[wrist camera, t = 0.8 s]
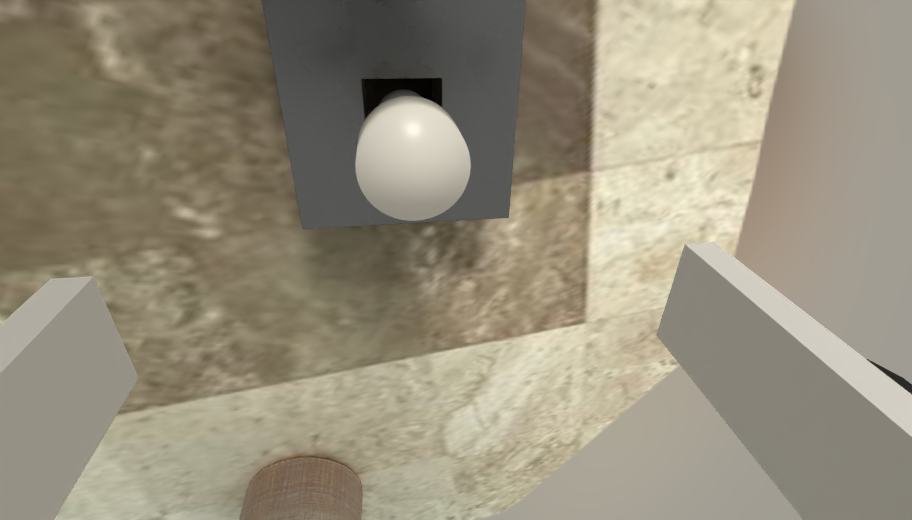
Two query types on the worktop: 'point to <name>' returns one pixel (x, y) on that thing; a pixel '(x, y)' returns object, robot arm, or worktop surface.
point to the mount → (384, 57)
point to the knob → (411, 157)
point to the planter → (303, 491)
